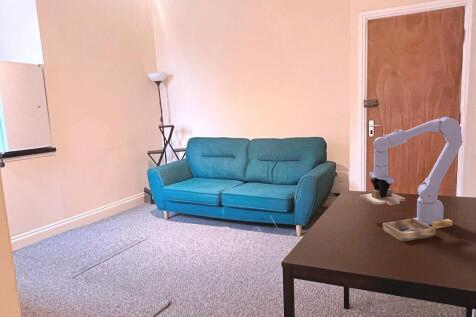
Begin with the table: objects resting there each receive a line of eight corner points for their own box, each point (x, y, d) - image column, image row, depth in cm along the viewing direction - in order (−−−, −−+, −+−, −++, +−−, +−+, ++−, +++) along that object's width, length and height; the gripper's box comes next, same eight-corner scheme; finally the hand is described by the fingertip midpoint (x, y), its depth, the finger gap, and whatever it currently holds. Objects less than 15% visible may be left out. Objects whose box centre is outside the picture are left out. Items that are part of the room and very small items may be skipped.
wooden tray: (413, 225, 140) (413, 218, 139) (435, 236, 128) (435, 228, 128) (382, 230, 137) (382, 223, 137) (402, 241, 126) (402, 234, 125)
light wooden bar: (448, 224, 128) (448, 218, 128) (452, 225, 126) (452, 220, 126) (431, 226, 127) (431, 221, 126) (435, 228, 125) (436, 223, 125)
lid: (387, 193, 155) (387, 184, 155) (410, 202, 141) (410, 193, 140) (359, 197, 153) (359, 188, 152) (379, 206, 138) (379, 197, 138)
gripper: (363, 163, 152) (363, 192, 154) (382, 169, 138) (382, 201, 140) (377, 161, 153) (377, 190, 156) (398, 167, 139) (398, 199, 142)
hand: (380, 195), depth 148 cm, fingers closed on lid, 3 cm apart
